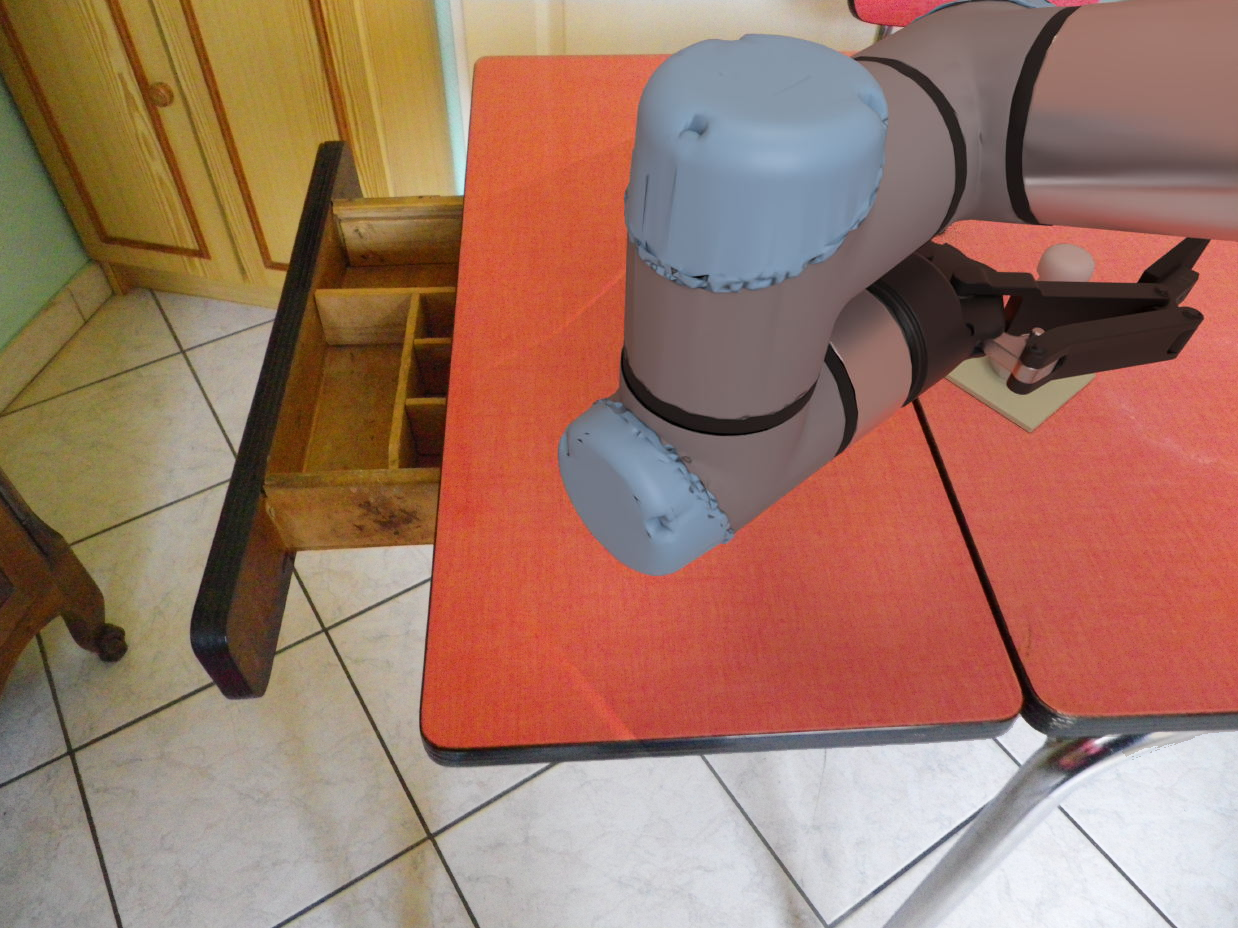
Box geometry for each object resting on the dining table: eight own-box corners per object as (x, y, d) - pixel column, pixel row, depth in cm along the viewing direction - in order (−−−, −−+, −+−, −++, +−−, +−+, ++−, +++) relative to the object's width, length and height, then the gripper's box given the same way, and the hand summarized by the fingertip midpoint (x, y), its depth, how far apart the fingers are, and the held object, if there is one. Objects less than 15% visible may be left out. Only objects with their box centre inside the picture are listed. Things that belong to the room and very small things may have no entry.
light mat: (1093, 379, 80) (1096, 374, 80) (1030, 433, 76) (1032, 429, 75) (993, 320, 86) (995, 315, 85) (928, 367, 81) (930, 362, 80)
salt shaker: (1006, 339, 83) (1064, 225, 73) (1057, 373, 80) (1124, 258, 70) (969, 363, 80) (1022, 248, 71) (1019, 398, 78) (1083, 283, 68)
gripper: (667, 283, 49) (893, 163, 58) (1053, 560, 37) (1260, 354, 47) (678, 164, 43) (926, 52, 53) (1137, 447, 32) (1354, 238, 41)
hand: (1083, 193), depth 50 cm, fingers open, 13 cm apart
